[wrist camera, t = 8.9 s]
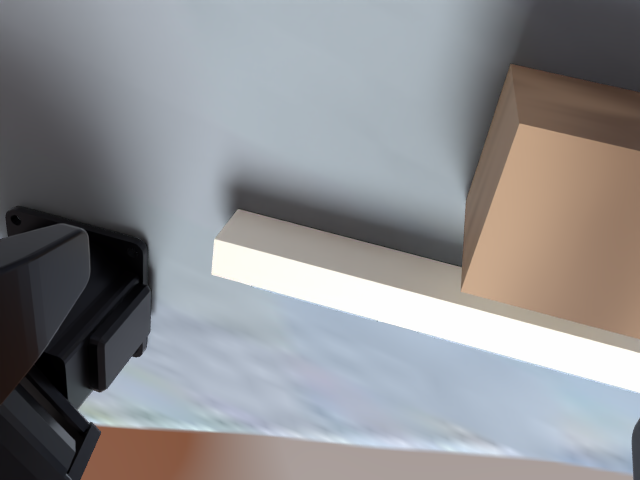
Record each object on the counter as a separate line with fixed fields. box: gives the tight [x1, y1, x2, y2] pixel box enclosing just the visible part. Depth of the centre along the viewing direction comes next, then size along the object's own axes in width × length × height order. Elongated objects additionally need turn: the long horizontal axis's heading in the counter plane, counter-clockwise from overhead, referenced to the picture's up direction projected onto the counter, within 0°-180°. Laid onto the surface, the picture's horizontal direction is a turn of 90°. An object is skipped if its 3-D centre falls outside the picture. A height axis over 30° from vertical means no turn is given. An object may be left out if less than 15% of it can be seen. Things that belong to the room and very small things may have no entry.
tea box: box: [461, 64, 640, 339], centre depth 18 cm, size 7×5×6 cm
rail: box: [212, 209, 640, 394], centre depth 22 cm, size 24×2×2 cm, turn 80°
